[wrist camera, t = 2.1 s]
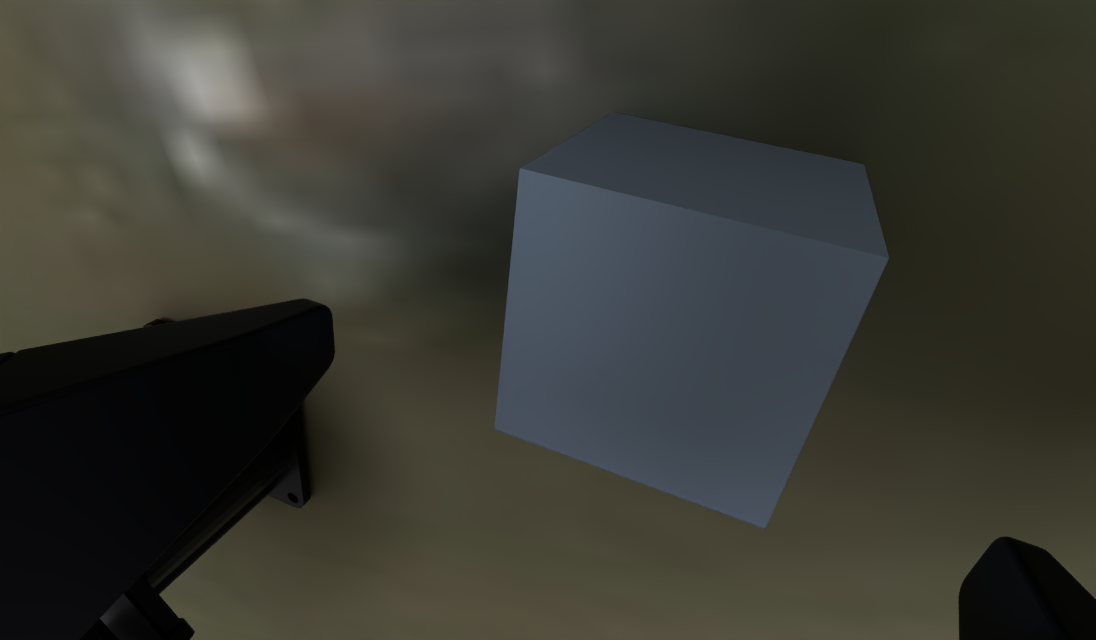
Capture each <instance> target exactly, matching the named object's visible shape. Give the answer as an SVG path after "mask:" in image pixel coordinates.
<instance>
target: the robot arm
mask: <svg viewBox="0 0 1096 640" xmlns="http://www.w3.org/2000/svg"><path fill="white" fill-rule="evenodd" d="M334 354H335V345H334V332H333V319H332V313H331V311H330V309H329V308H328V307H327V306H326V305H323V304H321V303H318V302H315V301H312V300H309V299H297V300H291V301H286V302H280V303H275V304H269V305H264V306H258V307H253V308H247V309H242V310H236V311H231V312H226V313H220V314H215V315H209V316H204V317H198V318H193V319H187V320H182V321H176V322H171V323H167V322H165V321H162V320H159V319H156V320H154V321H152V322H150V323H148V324H146V325H144V326H143V328H138V329H133V330H127V331H122V332H116V333H111V334H105V335H100V336H94V337H89V338H84V339H78V340H73V341H67V342H62V343H56V344H51V345H45V346H40V347H34V348H29V349H23V350H20V351H18V352H16V353H14V352H6V353H1V354H0V640H190V639H191V637H192V636H193V634H194V630H193V629H192V627H191V626H190V625H189V624H188V623H187V622H186V620H185V619H184V618H178V617H177V615H176V614H175V613H174V612H173V611H172V610H171V608H170V607H169V606H168V605H167V604H166V602H165V601H164V600H163V599H162V598H161V597H160V595H159V594H160V593H161V592H162V591H163V590H164V589H165V588H166V587H168V586H169V585H170V584H171V583H172V582H173V581H174V580H175V579H176V578H177V577H178V576H180V575H181V574H182V573H183V572H184V571H185V570H186V569H187V568H188V567H189V566H190V565H192V564H193V563H194V562H195V561H196V560H197V559H198V558H199V557H200V556H201V555H202V554H204V553H205V552H206V551H207V550H208V549H209V548H210V547H211V546H212V545H213V544H214V543H216V542H217V541H218V540H219V539H220V538H221V537H222V536H223V535H224V534H225V533H226V532H227V531H229V530H230V529H231V528H232V527H233V526H234V525H235V524H236V523H237V522H238V521H239V520H241V519H242V518H243V517H244V516H245V515H246V514H247V513H248V512H249V511H250V510H251V509H253V508H254V507H255V506H256V505H257V504H258V503H259V502H260V501H261V500H262V499H263V498H265V497H266V496H267V495H269V496H271V497H274V498H276V499H278V500H280V501H282V502H285V503H287V504H289V505H291V506H293V507H296V508H302V507H303V506H304V505H305V504H306V503H307V502H308V501H309V500H310V498H311V493H310V484H309V476H308V468H307V460H306V451H305V443H304V435H303V427H302V418H301V410H300V404H301V403H302V401H303V400H304V399H305V398H306V396H307V395H308V394H309V393H310V391H311V390H312V389H313V387H314V386H315V385H316V384H317V382H318V381H319V380H320V379H321V377H322V376H323V375H324V374H325V372H326V371H327V370H328V369H329V367H330V365H331V363H332V361H333V358H334ZM959 640H1096V599H1095V598H1094V597H1093V596H1092V595H1091V594H1090V593H1089V592H1088V591H1087V590H1086V589H1085V588H1084V587H1083V586H1082V585H1081V584H1080V583H1079V582H1078V581H1077V580H1076V579H1075V578H1074V577H1073V576H1072V575H1071V574H1070V573H1069V572H1068V571H1067V570H1066V569H1065V568H1064V567H1063V566H1062V565H1061V564H1060V563H1059V562H1058V561H1057V560H1056V559H1055V558H1054V557H1053V556H1052V555H1051V554H1050V553H1049V552H1047V551H1046V550H1044V549H1042V548H1040V547H1038V546H1035V545H1032V544H1029V543H1026V542H1023V541H1020V540H1017V539H1014V538H1011V537H999V538H998V539H996V540H995V541H994V542H993V543H992V544H991V545H990V546H989V547H988V549H987V550H986V551H985V553H984V554H983V555H982V556H981V558H980V559H979V560H978V562H977V563H976V564H975V566H974V567H973V568H972V569H971V571H970V572H969V573H968V575H967V576H966V577H965V579H964V581H963V583H962V585H961V588H960V592H959Z"/></svg>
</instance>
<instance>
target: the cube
mask: <svg viewBox="0 0 1096 640" xmlns="http://www.w3.org/2000/svg"><path fill="white" fill-rule="evenodd" d="M888 259H889V256H888V252H887V248H886V244H885V241H884V237H883V233H882V230H881V226H880V222H879V218H878V215H877V211H876V207H875V203H874V200H873V196H872V192H871V189H870V185H869V181H868V177H867V174H866V170H865V166H864V164H861V163H856V162H851V161H846V160H841V159H836V158H832V157H827V156H822V155H817V154H812V153H808V152H803V151H798V150H793V149H788V148H784V147H779V146H774V145H769V144H764V143H760V142H755V141H750V140H745V139H740V138H736V137H731V136H726V135H721V134H716V133H712V132H707V131H702V130H697V129H692V128H687V127H683V126H678V125H673V124H668V123H663V122H659V121H654V120H649V119H644V118H639V117H635V116H630V115H625V114H620V113H615V112H613V113H611V114H610V115H608V116H606V117H605V118H603V119H601V120H600V121H598V122H596V123H595V124H593V125H591V126H590V127H588V128H586V129H585V130H583V131H581V132H580V133H578V134H576V135H574V136H573V137H571V138H569V139H568V140H566V141H564V142H563V143H561V144H559V145H558V146H556V147H554V148H553V149H551V150H549V151H548V152H546V153H544V154H543V155H541V156H539V157H538V158H536V159H534V160H533V161H531V162H529V163H528V164H526V165H524V166H522V167H521V168H520V170H519V180H518V190H517V200H516V211H515V221H514V231H513V242H512V252H511V262H510V273H509V283H508V293H507V304H506V314H505V324H504V335H503V345H502V355H501V366H500V376H499V386H498V396H497V407H496V417H495V427H494V429H496V430H498V431H501V432H504V433H507V434H509V435H512V436H515V437H517V438H520V439H523V440H526V441H528V442H531V443H534V444H536V445H539V446H542V447H544V448H547V449H550V450H553V451H555V452H558V453H561V454H563V455H566V456H569V457H572V458H574V459H577V460H580V461H582V462H585V463H588V464H591V465H593V466H596V467H599V468H601V469H604V470H607V471H609V472H612V473H615V474H618V475H620V476H623V477H626V478H628V479H631V480H634V481H637V482H639V483H642V484H645V485H647V486H650V487H653V488H655V489H658V490H661V491H664V492H666V493H669V494H672V495H674V496H677V497H680V498H683V499H685V500H688V501H691V502H693V503H696V504H699V505H701V506H704V507H707V508H710V509H712V510H715V511H718V512H720V513H723V514H726V515H729V516H731V517H734V518H737V519H739V520H742V521H745V522H747V523H750V524H753V525H756V526H758V527H761V528H764V529H765V528H766V526H767V524H768V522H769V520H770V517H771V515H772V513H773V511H774V509H775V506H776V504H777V502H778V500H779V498H780V496H781V493H782V491H783V489H784V487H785V485H786V482H787V480H788V478H789V476H790V474H791V471H792V469H793V467H794V465H795V463H796V461H797V458H798V456H799V454H800V452H801V450H802V447H803V445H804V443H805V441H806V439H807V437H808V434H809V432H810V430H811V428H812V426H813V423H814V421H815V419H816V417H817V415H818V412H819V410H820V408H821V406H822V404H823V402H824V399H825V397H826V395H827V393H828V391H829V388H830V386H831V384H832V382H833V380H834V378H835V375H836V373H837V371H838V369H839V367H840V364H841V362H842V360H843V358H844V356H845V353H846V351H847V349H848V347H849V345H850V343H851V340H852V338H853V336H854V334H855V332H856V329H857V327H858V325H859V323H860V321H861V318H862V316H863V314H864V312H865V310H866V308H867V305H868V303H869V301H870V299H871V297H872V294H873V292H874V290H875V288H876V286H877V284H878V281H879V279H880V277H881V275H882V273H883V270H884V268H885V266H886V264H887V262H888Z"/></svg>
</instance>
